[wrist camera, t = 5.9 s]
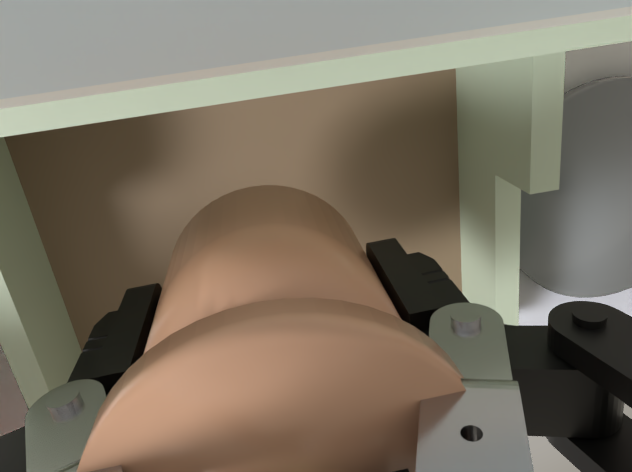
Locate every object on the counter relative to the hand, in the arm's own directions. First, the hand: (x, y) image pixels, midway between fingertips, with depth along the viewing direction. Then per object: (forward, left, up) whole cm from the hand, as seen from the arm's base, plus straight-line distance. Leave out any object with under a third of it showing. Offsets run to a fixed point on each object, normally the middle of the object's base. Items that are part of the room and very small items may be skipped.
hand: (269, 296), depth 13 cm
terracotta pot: (0, 0, -1) cm, 1 cm away
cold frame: (0, 0, -6) cm, 6 cm away
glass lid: (-7, 0, +9) cm, 11 cm away
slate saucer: (+1, +13, -6) cm, 14 cm away
